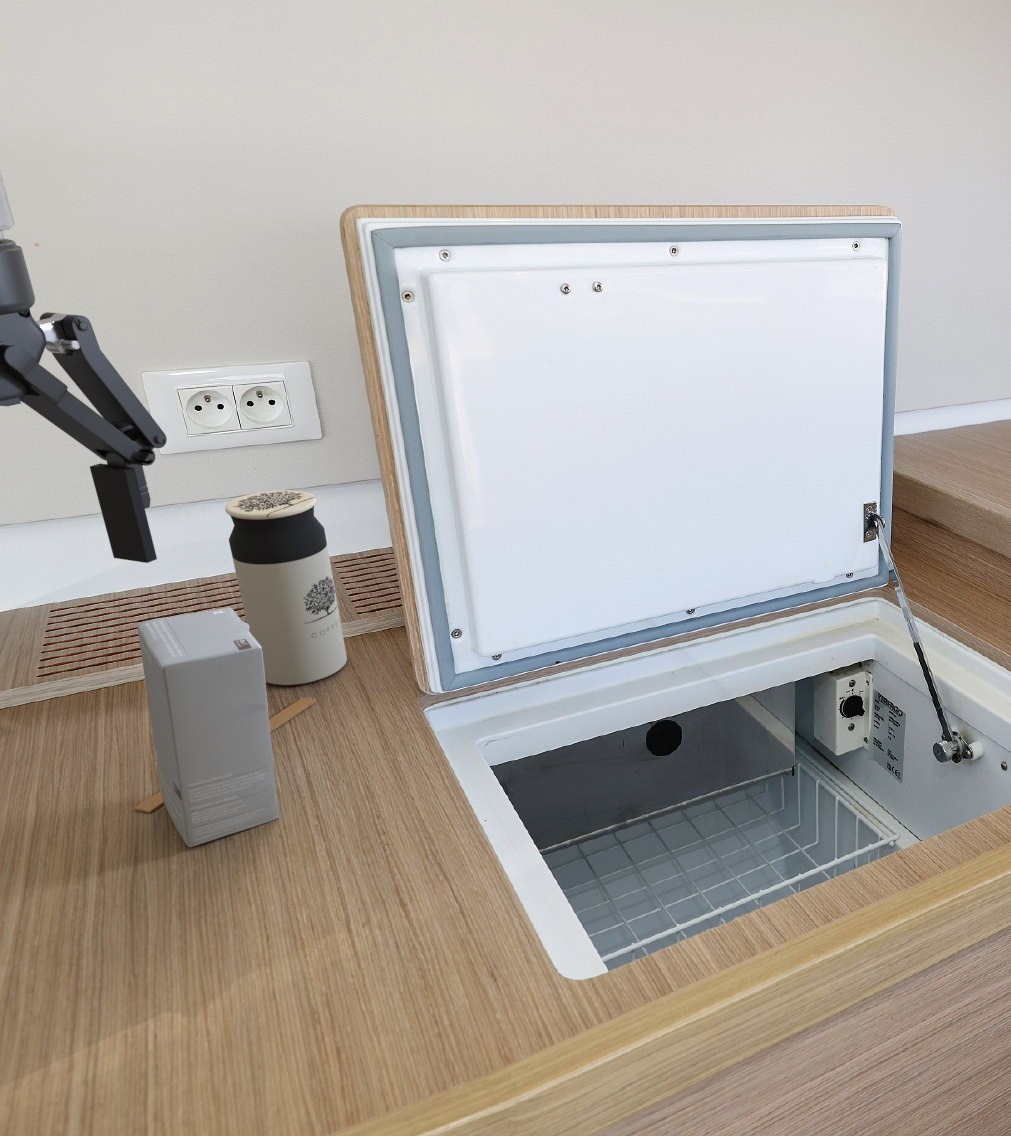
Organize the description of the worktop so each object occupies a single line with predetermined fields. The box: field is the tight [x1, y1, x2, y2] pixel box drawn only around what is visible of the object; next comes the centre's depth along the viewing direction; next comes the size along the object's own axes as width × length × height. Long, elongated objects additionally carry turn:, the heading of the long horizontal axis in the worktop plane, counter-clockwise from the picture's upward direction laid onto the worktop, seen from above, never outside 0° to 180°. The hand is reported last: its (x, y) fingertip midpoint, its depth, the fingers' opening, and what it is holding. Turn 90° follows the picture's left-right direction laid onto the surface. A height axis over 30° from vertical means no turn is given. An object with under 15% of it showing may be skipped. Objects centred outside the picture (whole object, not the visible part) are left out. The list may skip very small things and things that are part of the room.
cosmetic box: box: [136, 606, 280, 848], centre depth 73 cm, size 8×7×16 cm
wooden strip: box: [133, 697, 318, 814], centre depth 83 cm, size 2×18×1 cm, turn 167°
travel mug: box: [224, 489, 348, 686], centre depth 93 cm, size 8×8×18 cm
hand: (37, 598), depth 58 cm, fingers open, 13 cm apart
